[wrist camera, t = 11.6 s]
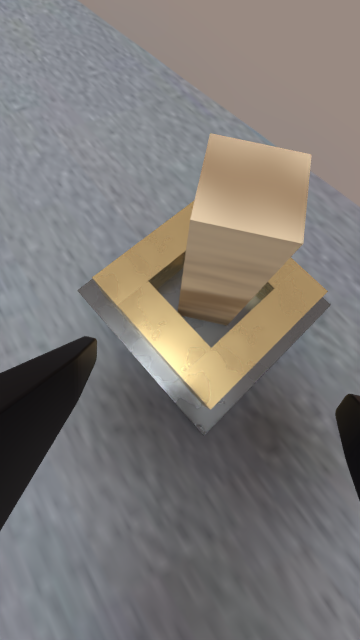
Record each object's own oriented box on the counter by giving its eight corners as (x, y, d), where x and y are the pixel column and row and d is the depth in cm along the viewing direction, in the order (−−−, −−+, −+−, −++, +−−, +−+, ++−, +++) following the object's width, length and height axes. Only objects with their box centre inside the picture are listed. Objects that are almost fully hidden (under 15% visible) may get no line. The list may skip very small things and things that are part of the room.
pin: (226, 325, 22) (302, 243, 10) (177, 314, 22) (189, 219, 10) (234, 279, 24) (311, 154, 11) (187, 269, 24) (210, 133, 11)
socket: (324, 308, 24) (354, 292, 20) (202, 433, 21) (210, 443, 17) (206, 198, 27) (213, 166, 23) (80, 294, 24) (64, 275, 20)
